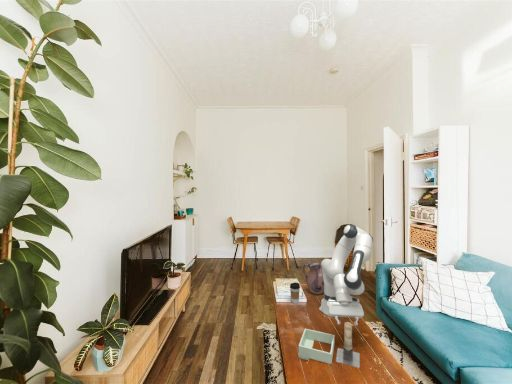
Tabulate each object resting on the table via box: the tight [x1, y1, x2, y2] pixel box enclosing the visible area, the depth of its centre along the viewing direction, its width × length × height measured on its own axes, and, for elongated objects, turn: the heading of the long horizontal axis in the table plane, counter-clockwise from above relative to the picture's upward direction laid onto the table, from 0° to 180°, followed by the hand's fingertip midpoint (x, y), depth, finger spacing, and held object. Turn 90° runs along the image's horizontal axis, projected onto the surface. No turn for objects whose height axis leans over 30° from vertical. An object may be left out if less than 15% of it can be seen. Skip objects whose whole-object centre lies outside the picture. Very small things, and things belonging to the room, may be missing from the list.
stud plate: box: [335, 347, 361, 369], centre depth 137 cm, size 12×12×6 cm
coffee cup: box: [289, 282, 301, 304], centre depth 204 cm, size 8×8×15 cm
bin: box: [298, 328, 336, 365], centre depth 143 cm, size 18×18×7 cm
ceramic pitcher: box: [302, 262, 324, 295], centre depth 222 cm, size 18×21×25 cm
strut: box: [342, 321, 354, 361], centre depth 136 cm, size 5×5×19 cm
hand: (347, 325), depth 141 cm, fingers open, 8 cm apart
